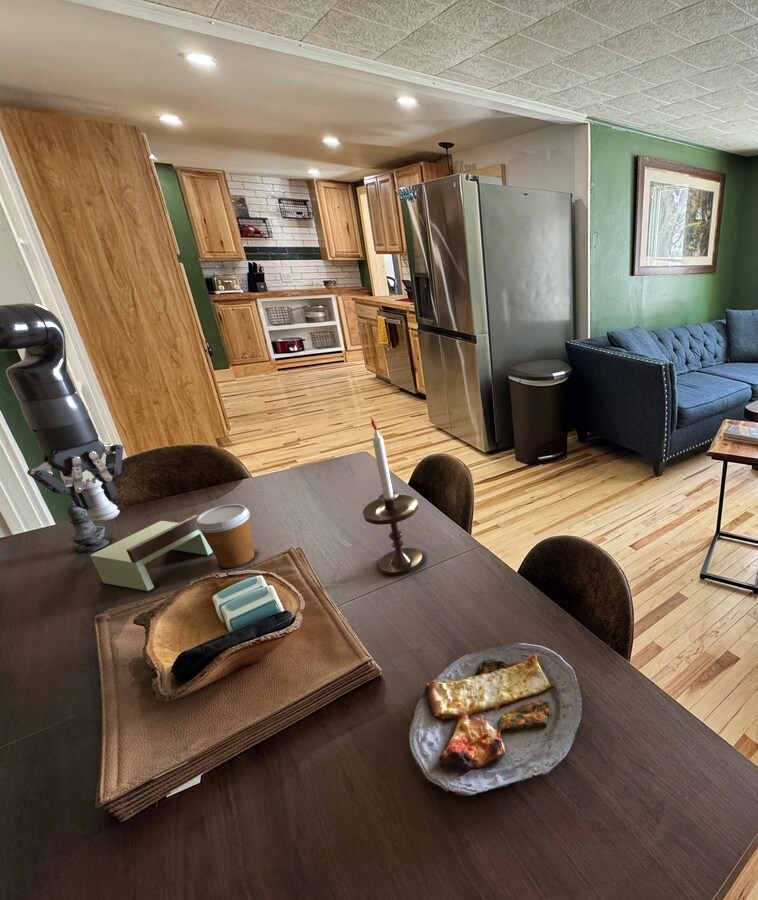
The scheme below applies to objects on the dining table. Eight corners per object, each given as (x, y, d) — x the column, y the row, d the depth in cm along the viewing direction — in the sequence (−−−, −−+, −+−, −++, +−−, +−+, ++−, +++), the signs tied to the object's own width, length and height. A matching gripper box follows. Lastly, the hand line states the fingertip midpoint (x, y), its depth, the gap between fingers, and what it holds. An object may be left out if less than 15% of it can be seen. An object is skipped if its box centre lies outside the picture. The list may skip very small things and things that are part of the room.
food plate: (403, 825, 58) (399, 807, 56) (416, 674, 78) (412, 658, 77) (599, 768, 64) (599, 750, 63) (563, 642, 85) (562, 627, 83)
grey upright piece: (69, 550, 110) (46, 505, 105) (99, 537, 115) (78, 493, 111) (87, 554, 109) (65, 509, 104) (117, 540, 114) (97, 496, 109)
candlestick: (404, 582, 100) (374, 427, 87) (363, 572, 103) (329, 421, 90) (436, 554, 110) (414, 410, 96) (398, 545, 113) (371, 405, 99)
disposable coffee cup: (271, 553, 109) (257, 508, 105) (227, 577, 101) (210, 529, 97) (246, 543, 113) (231, 499, 108) (201, 565, 105) (183, 518, 100)
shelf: (103, 583, 99) (83, 542, 96) (171, 545, 112) (156, 509, 108) (148, 591, 97) (129, 550, 93) (212, 552, 110) (199, 515, 106)
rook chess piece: (89, 517, 93) (72, 480, 90) (120, 509, 96) (104, 473, 93) (89, 525, 90) (71, 488, 87) (121, 517, 93) (105, 480, 90)
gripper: (90, 406, 92) (124, 485, 99) (-9, 431, 80) (38, 519, 86) (120, 409, 91) (152, 489, 97) (23, 434, 78) (68, 524, 85)
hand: (98, 503), depth 92 cm, fingers closed on rook chess piece, 3 cm apart
